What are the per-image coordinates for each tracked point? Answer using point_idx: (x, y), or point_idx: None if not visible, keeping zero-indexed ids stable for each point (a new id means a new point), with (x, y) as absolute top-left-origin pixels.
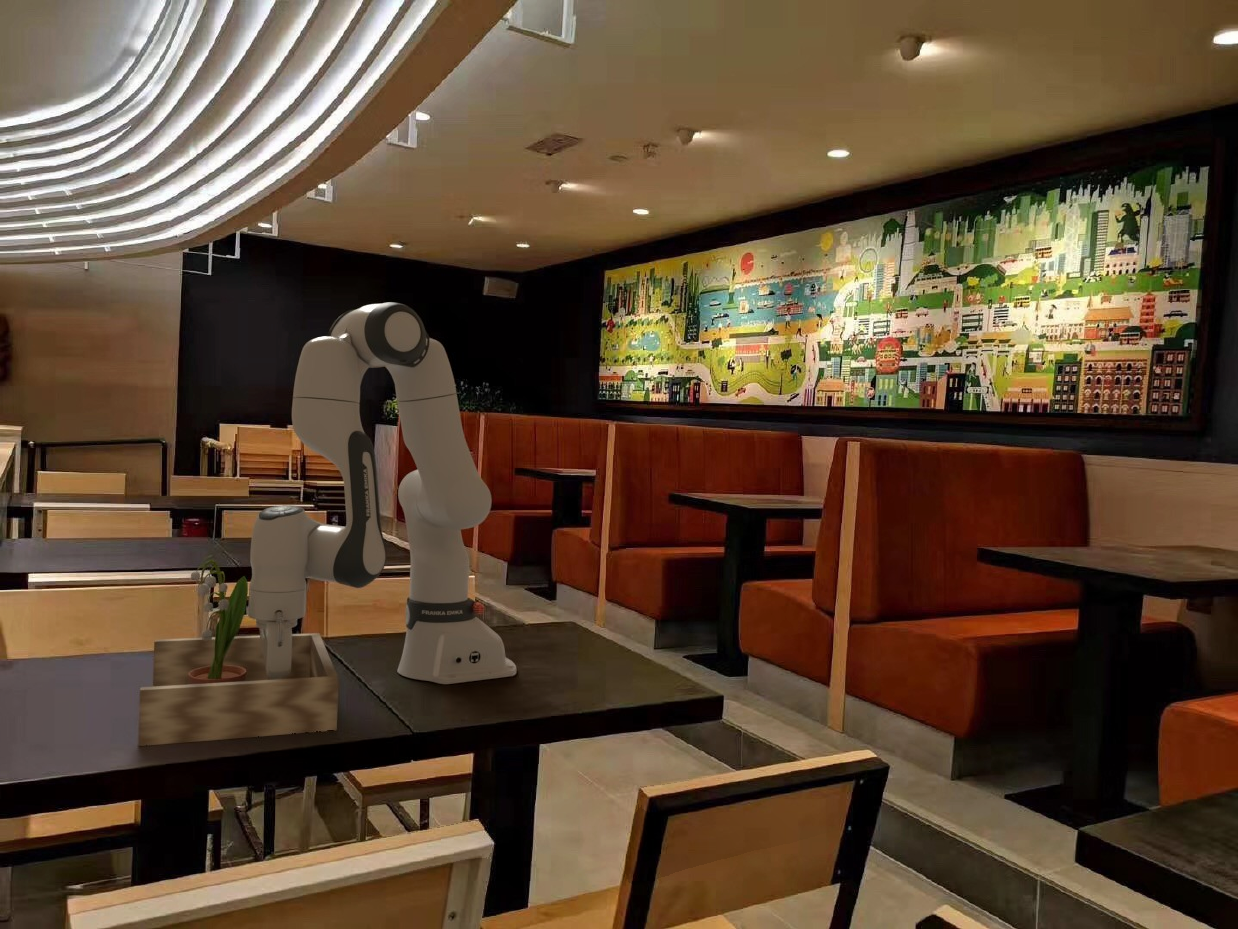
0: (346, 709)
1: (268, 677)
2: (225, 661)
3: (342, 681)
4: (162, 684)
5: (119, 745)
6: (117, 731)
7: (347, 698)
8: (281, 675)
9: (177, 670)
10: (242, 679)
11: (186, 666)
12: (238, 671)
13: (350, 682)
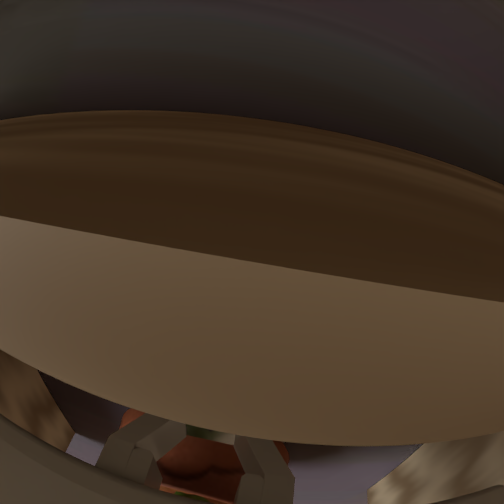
0: (443, 77)
1: (191, 435)
2: (3, 396)
3: (6, 36)
4: (68, 430)
5: (360, 496)
6: (296, 498)
7: (250, 5)
8: (279, 453)
9: (49, 437)
10: (231, 486)
11: (40, 435)
12: None
13: (24, 4)
